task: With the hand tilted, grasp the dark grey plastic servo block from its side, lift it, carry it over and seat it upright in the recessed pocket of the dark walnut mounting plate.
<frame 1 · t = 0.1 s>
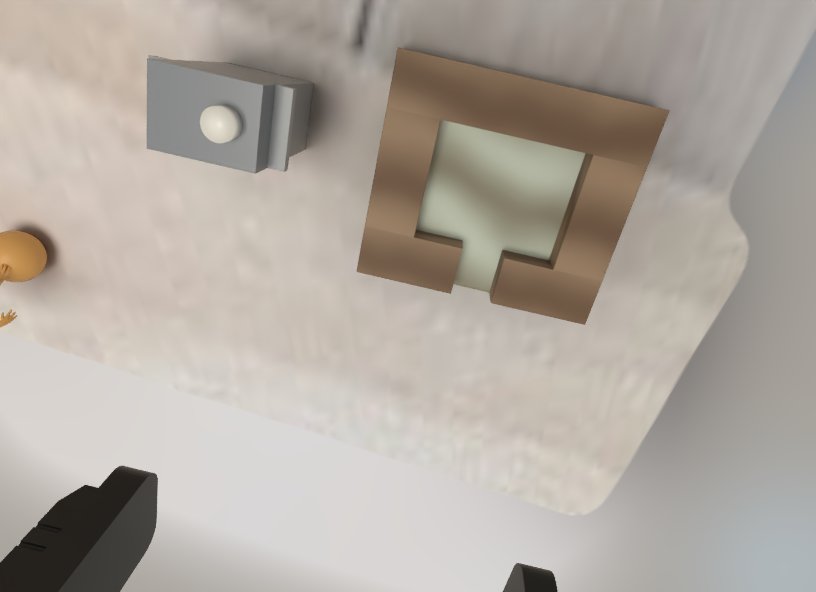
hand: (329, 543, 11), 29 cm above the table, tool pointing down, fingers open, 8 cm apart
walnut plate: (496, 190, 37), on the table
figurine: (36, 259, 43), on the table
servo block: (267, 107, 36), on the table
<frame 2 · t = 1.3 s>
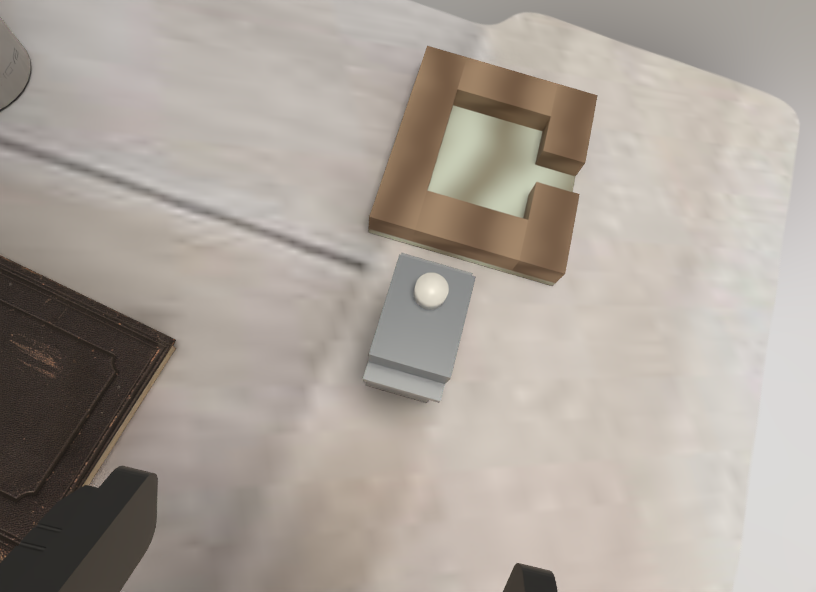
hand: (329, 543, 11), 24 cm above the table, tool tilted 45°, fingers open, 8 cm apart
walnut plate: (483, 170, 43), on the table
servo block: (407, 354, 38), on the table
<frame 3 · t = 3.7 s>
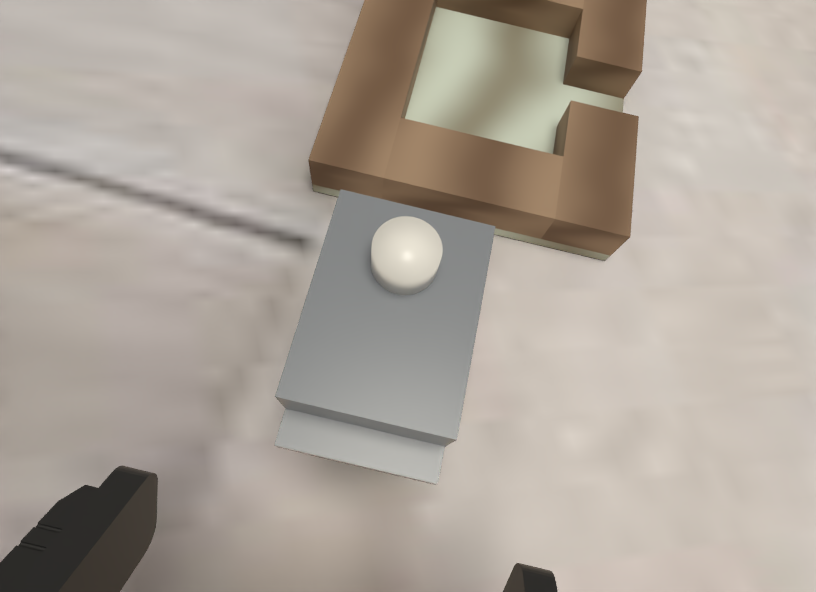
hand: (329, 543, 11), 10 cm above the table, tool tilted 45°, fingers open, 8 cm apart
walnut plate: (486, 95, 29), on the table
servo block: (380, 380, 23), on the table
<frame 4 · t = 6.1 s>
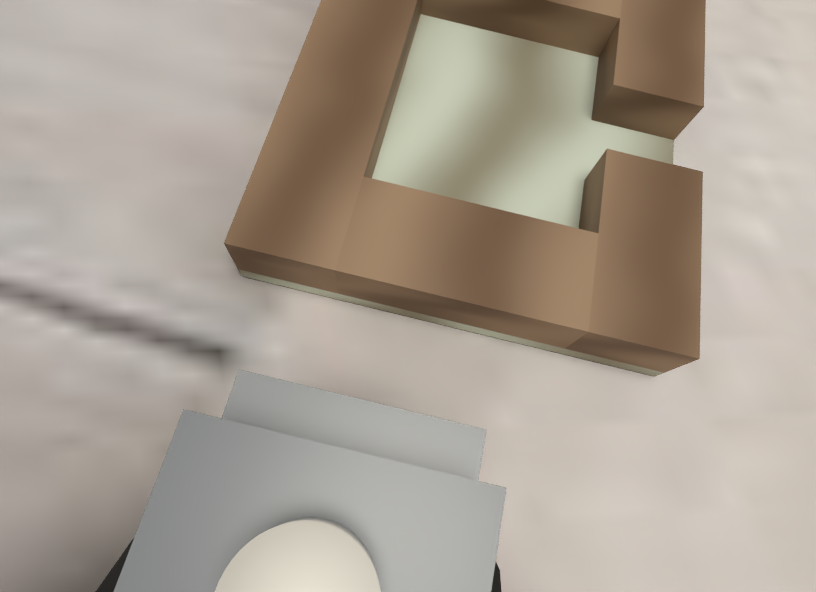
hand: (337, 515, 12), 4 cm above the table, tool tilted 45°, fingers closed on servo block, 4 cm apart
walnut plate: (487, 135, 21), on the table
servo block: (327, 578, 15), on the table, touching gripper
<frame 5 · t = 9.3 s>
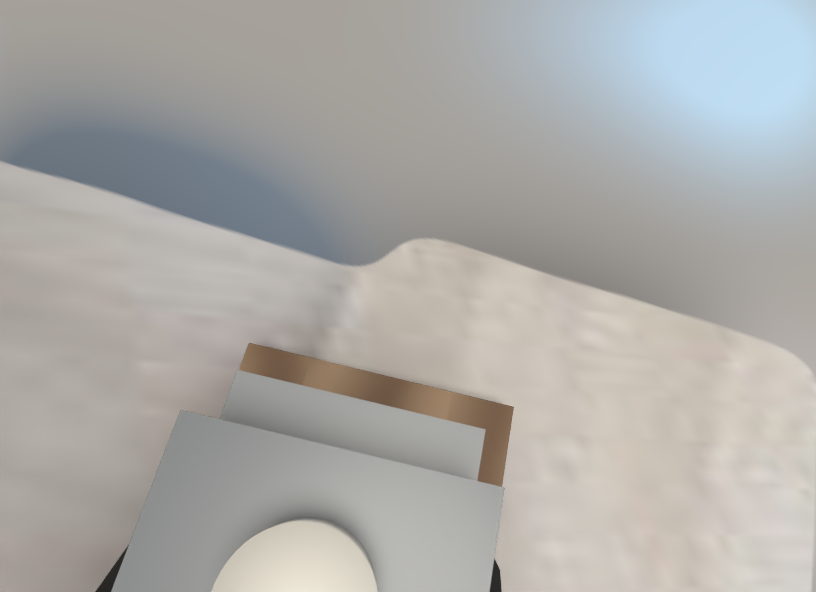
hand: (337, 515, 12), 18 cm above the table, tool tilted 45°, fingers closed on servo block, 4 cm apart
walnut plate: (341, 536, 28), on the table
servo block: (328, 578, 15), point 14 cm above the table, touching gripper
when the fingers open (5 cm above the table, at t = 12.4 s): servo block stays where it is, resting on walnut plate.
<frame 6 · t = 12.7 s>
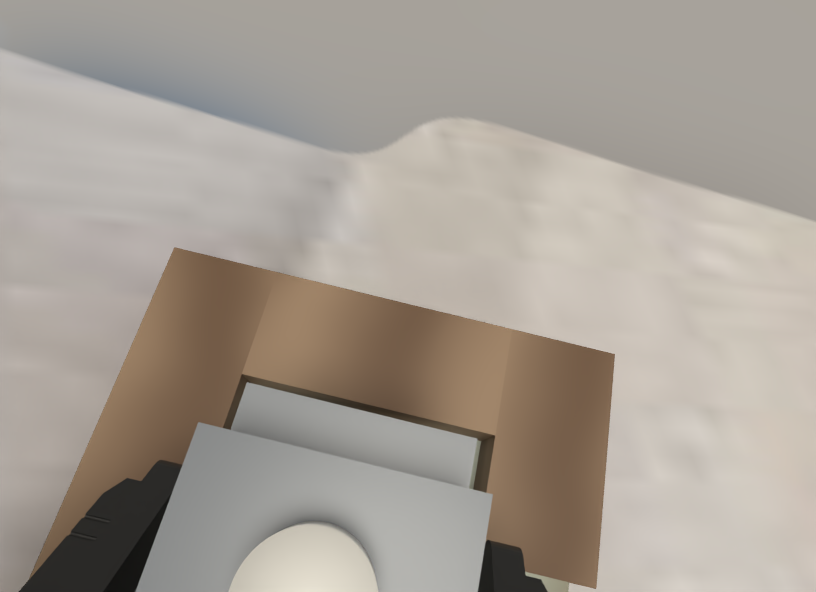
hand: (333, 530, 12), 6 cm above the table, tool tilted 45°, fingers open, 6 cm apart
walnut plate: (328, 571, 17), on the table
servo block: (328, 577, 16), point 1 cm above the table, touching walnut plate
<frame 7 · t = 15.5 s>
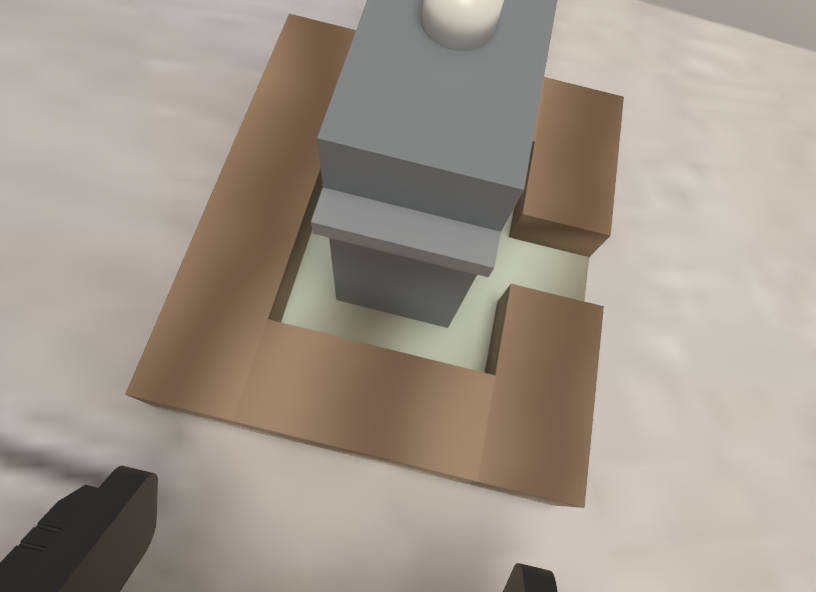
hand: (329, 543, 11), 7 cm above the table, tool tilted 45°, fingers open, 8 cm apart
walnut plate: (407, 251, 22), on the table
servo block: (409, 247, 21), point 1 cm above the table, touching walnut plate
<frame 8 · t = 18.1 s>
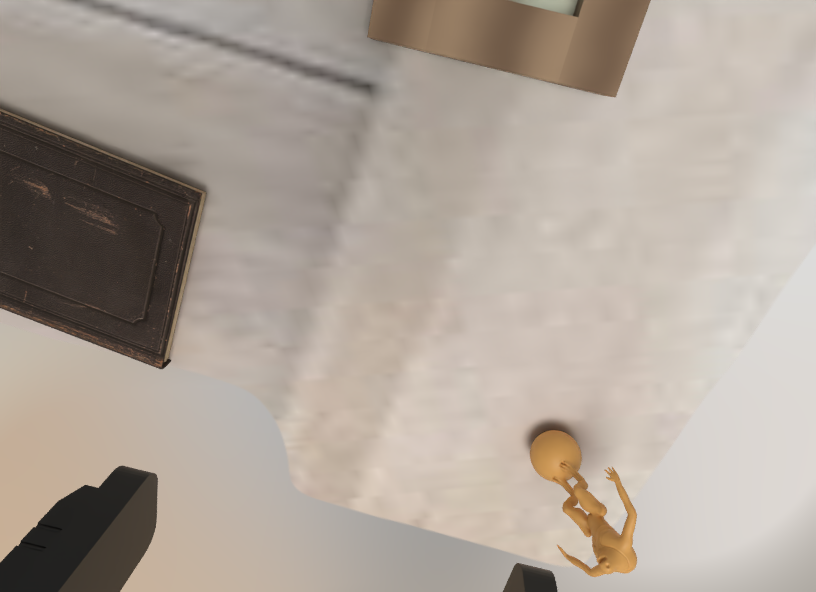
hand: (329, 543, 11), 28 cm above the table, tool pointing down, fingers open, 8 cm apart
hardcover book: (54, 224, 41), on the table
figurine: (562, 442, 44), on the table
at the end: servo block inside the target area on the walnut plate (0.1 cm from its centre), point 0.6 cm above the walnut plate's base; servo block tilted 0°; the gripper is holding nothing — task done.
